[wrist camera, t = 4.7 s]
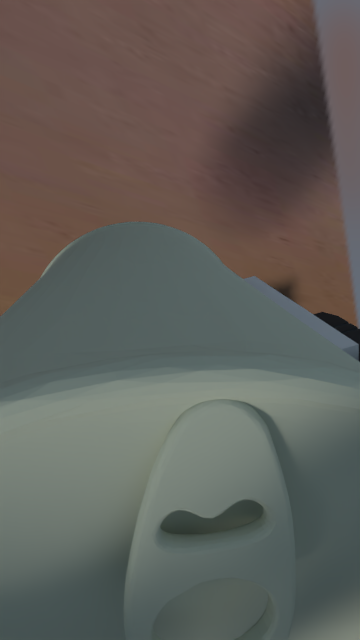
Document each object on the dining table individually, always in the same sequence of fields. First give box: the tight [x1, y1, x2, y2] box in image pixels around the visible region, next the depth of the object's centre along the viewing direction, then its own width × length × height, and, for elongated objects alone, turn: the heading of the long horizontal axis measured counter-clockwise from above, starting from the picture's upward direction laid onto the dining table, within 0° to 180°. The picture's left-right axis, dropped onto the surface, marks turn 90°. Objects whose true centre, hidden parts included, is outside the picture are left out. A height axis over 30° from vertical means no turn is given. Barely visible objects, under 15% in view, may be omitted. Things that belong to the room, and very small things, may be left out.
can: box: [0, 222, 360, 640], centre depth 9 cm, size 9×9×12 cm
